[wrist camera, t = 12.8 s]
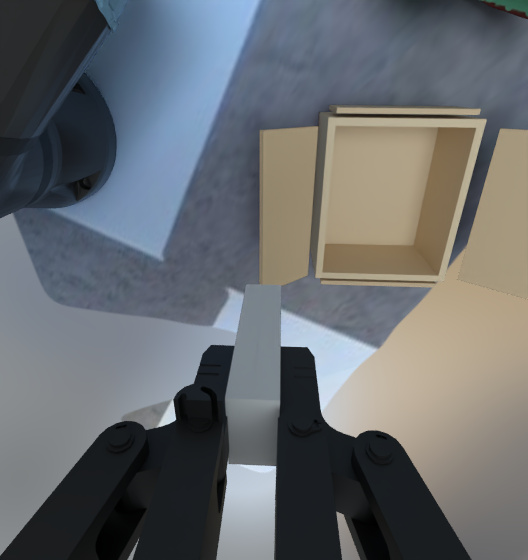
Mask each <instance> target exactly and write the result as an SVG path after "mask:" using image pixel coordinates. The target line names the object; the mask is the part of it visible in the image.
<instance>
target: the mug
mask: <svg viewBox="0 0 528 560" xmlns="http://www.w3.org/2000/svg"><path fill="white" fill-rule="evenodd" d="M480 1H481V2H483V3H485V4H486V5H488V6H490V7H493V8H496V9H499V10H502V11H505V12H508V13H511V14H513V15H516V16H519V17H522V18H525V19H528V0H480Z"/></svg>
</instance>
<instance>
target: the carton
mask: <svg viewBox="0 0 528 560" xmlns="http://www.w3.org/2000/svg"><path fill="white" fill-rule="evenodd" d="M329 110H330V111H333V112H320V113H319V127H318V141H317V155H316V169H315V183H314V197H313V211H312V225H311V239H310V249H311V255H312V261H313V267H314V273H315V278H320V281H321V284H334V285H369V286H403V287H435V286H436V283H435V282H434V281H440V282H441V281H442V282H443V281H444V278H445V274H446V271H447V267H448V263H449V259H450V256H451V252H452V248H453V244H454V241H455V237H456V233H457V229H458V225H459V222H460V218H461V214H462V210H463V207H464V203H465V199H466V195H467V192H468V188H469V184H470V180H471V177H472V173H473V169H474V165H475V162H476V158H477V154H478V150H479V147H480V143H481V139H482V135H483V132H484V128H485V124H486V120H487V119H481V118H475V117H468V116H461V115H479V114H480V110H481V109H475V108H465V107H455V106H379V105H330V106H329Z"/></svg>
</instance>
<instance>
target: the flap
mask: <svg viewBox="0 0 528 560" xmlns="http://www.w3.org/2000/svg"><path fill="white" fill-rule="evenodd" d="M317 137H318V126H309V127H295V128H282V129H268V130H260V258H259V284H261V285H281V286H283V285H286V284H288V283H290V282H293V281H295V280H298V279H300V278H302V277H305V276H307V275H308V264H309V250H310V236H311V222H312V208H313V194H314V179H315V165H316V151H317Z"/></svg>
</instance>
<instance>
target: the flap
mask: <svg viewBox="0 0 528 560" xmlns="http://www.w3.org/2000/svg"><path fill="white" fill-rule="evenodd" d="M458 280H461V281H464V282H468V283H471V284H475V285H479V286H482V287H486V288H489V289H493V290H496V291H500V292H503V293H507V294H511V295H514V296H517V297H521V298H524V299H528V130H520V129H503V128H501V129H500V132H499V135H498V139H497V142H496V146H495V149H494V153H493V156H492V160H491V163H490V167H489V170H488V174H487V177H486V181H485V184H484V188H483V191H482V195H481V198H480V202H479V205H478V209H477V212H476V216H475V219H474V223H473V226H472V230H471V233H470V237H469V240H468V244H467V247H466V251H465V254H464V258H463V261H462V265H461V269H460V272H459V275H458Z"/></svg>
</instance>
